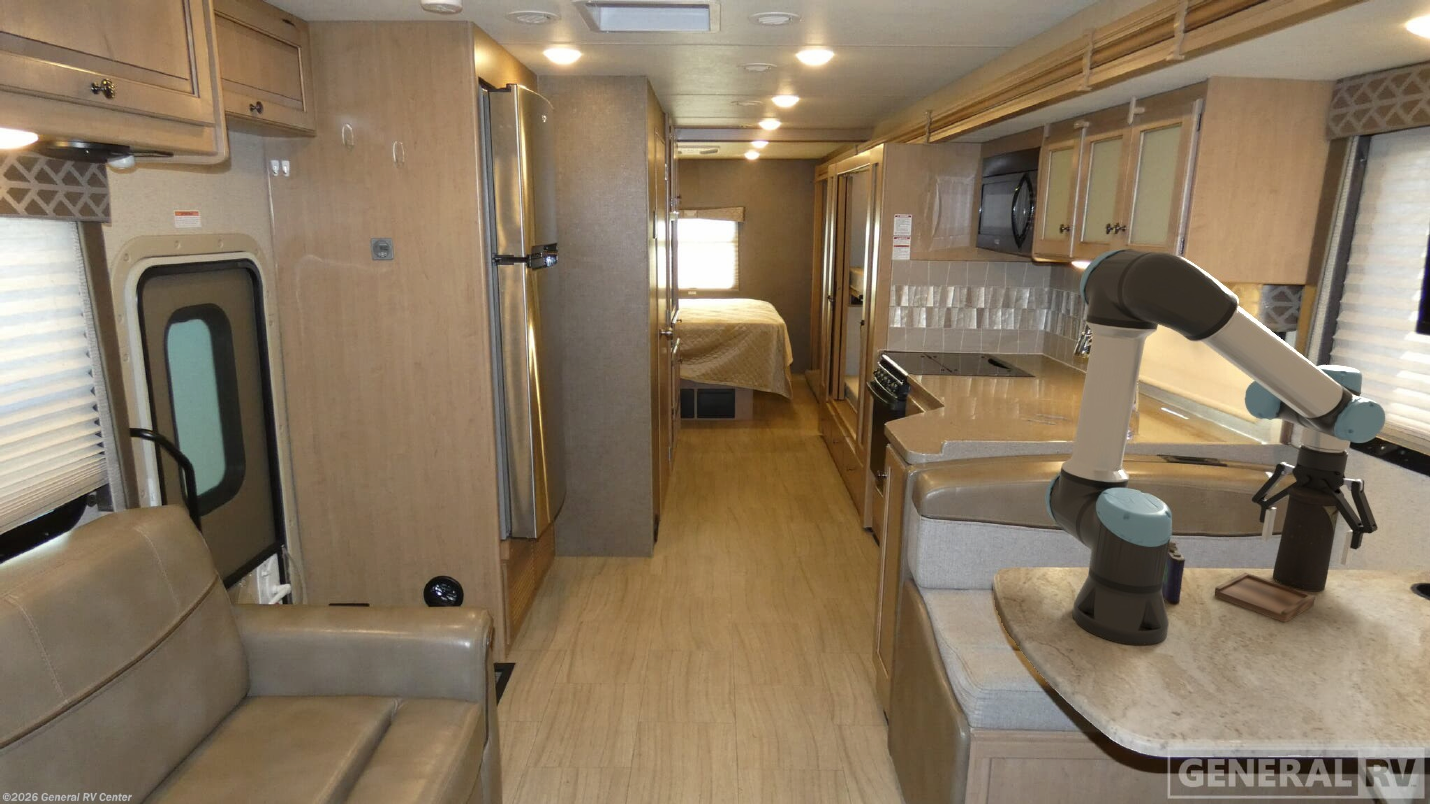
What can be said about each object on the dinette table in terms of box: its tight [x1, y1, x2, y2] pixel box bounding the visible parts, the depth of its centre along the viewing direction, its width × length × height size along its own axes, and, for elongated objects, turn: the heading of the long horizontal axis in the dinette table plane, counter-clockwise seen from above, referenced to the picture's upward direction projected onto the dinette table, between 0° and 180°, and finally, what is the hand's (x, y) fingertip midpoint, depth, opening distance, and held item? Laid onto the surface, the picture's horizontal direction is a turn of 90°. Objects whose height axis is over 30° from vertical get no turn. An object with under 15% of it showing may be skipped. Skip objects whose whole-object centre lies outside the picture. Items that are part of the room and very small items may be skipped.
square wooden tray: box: [1213, 572, 1316, 623], centre depth 152 cm, size 12×12×2 cm
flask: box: [1162, 541, 1186, 605], centre depth 153 cm, size 9×3×11 cm, turn 175°
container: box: [1272, 486, 1339, 592], centre depth 157 cm, size 9×9×20 cm
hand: (1304, 550), depth 158 cm, fingers open, 13 cm apart
